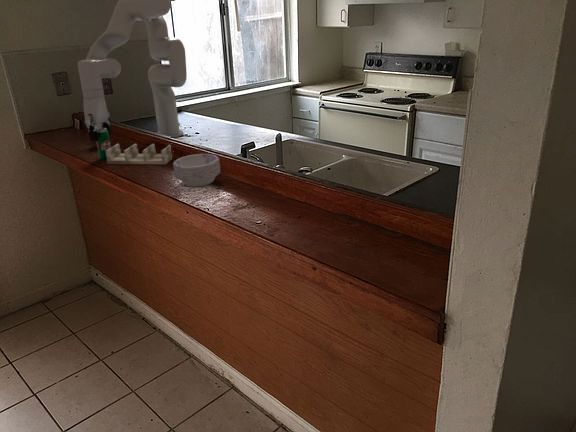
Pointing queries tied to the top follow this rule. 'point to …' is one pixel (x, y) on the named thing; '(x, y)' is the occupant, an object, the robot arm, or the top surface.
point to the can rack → (138, 155)
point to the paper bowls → (197, 169)
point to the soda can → (103, 142)
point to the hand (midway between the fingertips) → (101, 138)
